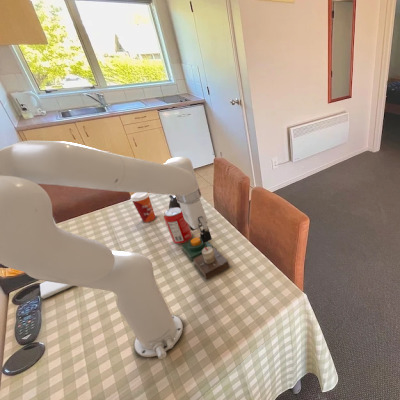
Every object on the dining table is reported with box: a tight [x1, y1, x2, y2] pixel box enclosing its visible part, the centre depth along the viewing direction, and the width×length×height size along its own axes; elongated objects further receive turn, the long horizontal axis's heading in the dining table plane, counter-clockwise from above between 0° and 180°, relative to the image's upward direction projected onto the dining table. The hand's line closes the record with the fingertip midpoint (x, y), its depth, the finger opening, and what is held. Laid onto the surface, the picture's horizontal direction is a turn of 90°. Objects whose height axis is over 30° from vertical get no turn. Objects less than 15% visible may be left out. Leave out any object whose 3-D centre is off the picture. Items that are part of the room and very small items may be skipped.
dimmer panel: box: [193, 247, 230, 280], centre depth 103 cm, size 11×9×3 cm
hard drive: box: [39, 281, 75, 300], centre depth 97 cm, size 2×8×12 cm
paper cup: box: [130, 192, 156, 223], centre depth 129 cm, size 8×8×14 cm
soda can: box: [163, 207, 193, 245], centre depth 115 cm, size 8×8×15 cm
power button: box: [190, 237, 201, 246], centre depth 110 cm, size 4×4×2 cm
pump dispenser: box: [168, 195, 190, 226], centre depth 125 cm, size 10×10×15 cm
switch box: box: [181, 236, 214, 262], centre depth 111 cm, size 10×9×4 cm
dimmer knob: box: [202, 247, 216, 264], centre depth 101 cm, size 4×4×5 cm
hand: (201, 234), depth 97 cm, fingers open, 9 cm apart
